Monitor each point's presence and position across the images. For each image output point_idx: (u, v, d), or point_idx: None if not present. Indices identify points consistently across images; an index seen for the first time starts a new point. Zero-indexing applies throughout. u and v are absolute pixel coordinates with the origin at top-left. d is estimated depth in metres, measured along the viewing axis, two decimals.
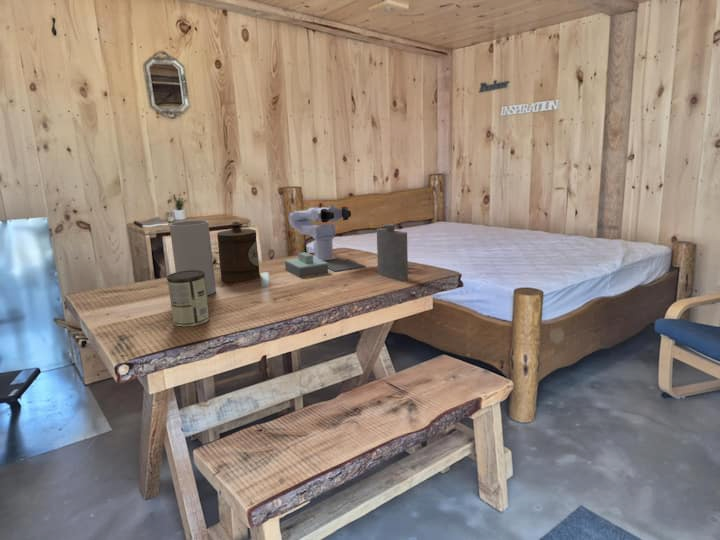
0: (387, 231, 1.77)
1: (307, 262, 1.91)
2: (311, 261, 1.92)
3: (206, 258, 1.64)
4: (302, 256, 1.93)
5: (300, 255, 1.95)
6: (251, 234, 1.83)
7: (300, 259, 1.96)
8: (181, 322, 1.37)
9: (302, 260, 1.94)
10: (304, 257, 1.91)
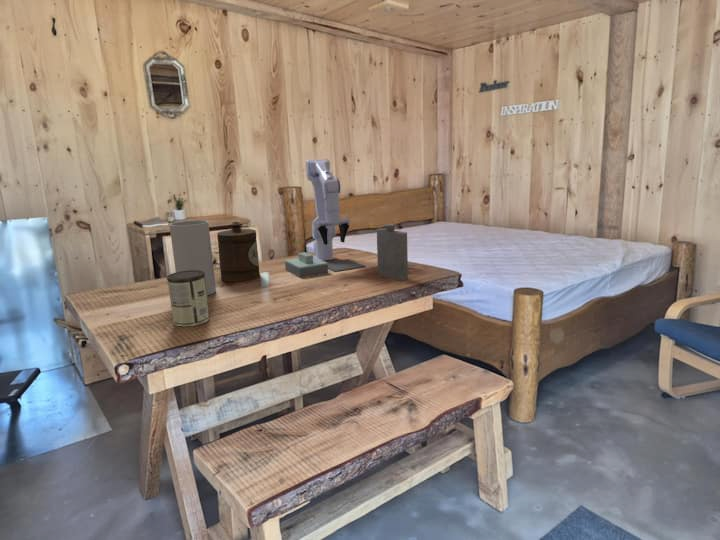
0: (387, 231, 1.77)
1: (307, 262, 1.91)
2: (311, 261, 1.92)
3: (206, 258, 1.64)
4: (302, 256, 1.93)
5: (300, 255, 1.95)
6: (251, 234, 1.83)
7: (300, 259, 1.96)
8: (181, 322, 1.37)
9: (302, 260, 1.94)
10: (304, 257, 1.91)
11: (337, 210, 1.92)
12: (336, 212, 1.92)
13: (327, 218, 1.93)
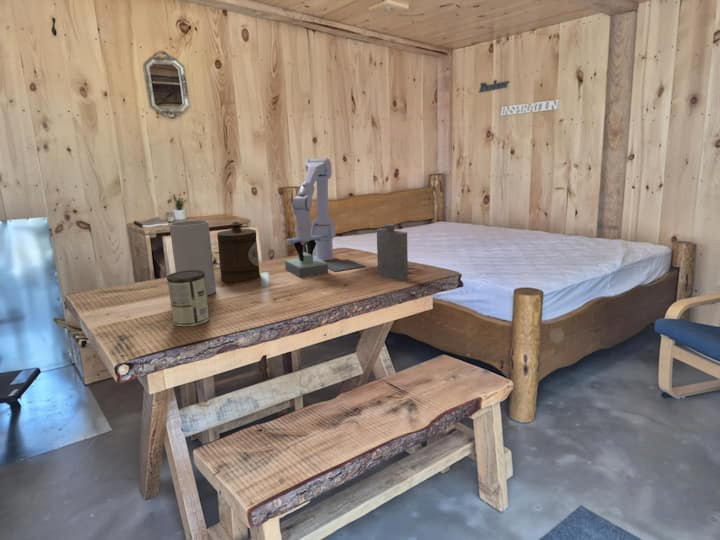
0: (387, 231, 1.77)
1: (307, 262, 1.91)
2: (311, 261, 1.92)
3: (206, 258, 1.64)
4: None
5: None
6: (251, 234, 1.83)
7: None
8: (181, 322, 1.37)
9: None
10: (304, 257, 1.91)
11: (308, 227, 1.90)
12: (307, 229, 1.89)
13: (298, 235, 1.90)
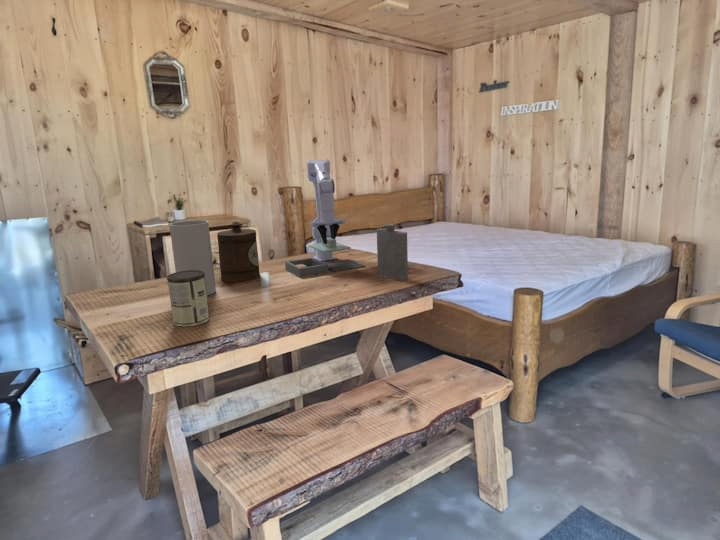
0: (387, 231, 1.77)
1: (330, 246, 1.95)
2: (334, 245, 1.95)
3: (206, 258, 1.64)
4: None
5: None
6: (251, 234, 1.83)
7: (323, 244, 1.99)
8: (181, 322, 1.37)
9: (325, 244, 1.98)
10: (327, 241, 1.95)
11: (332, 210, 1.93)
12: (331, 212, 1.93)
13: (322, 218, 1.94)
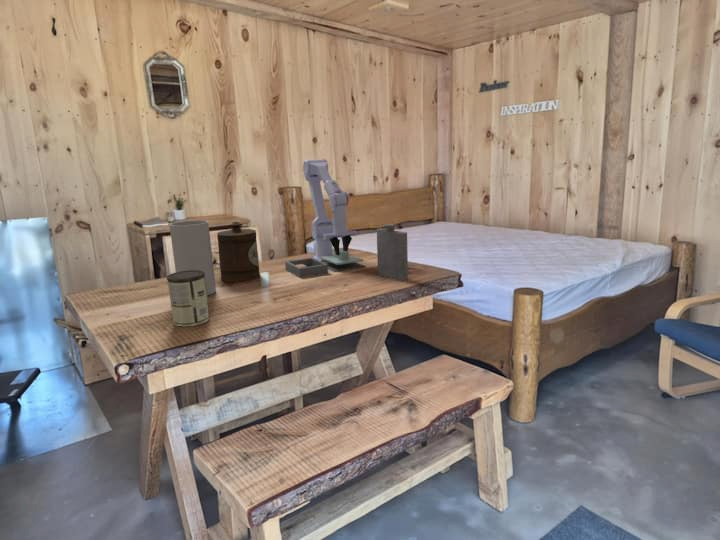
0: (387, 231, 1.77)
1: (343, 258, 1.98)
2: (347, 258, 1.99)
3: (206, 258, 1.64)
4: None
5: None
6: (251, 234, 1.83)
7: (336, 256, 2.03)
8: (181, 322, 1.37)
9: (338, 257, 2.01)
10: (340, 254, 1.99)
11: (344, 222, 1.97)
12: (343, 224, 1.97)
13: (335, 230, 1.98)
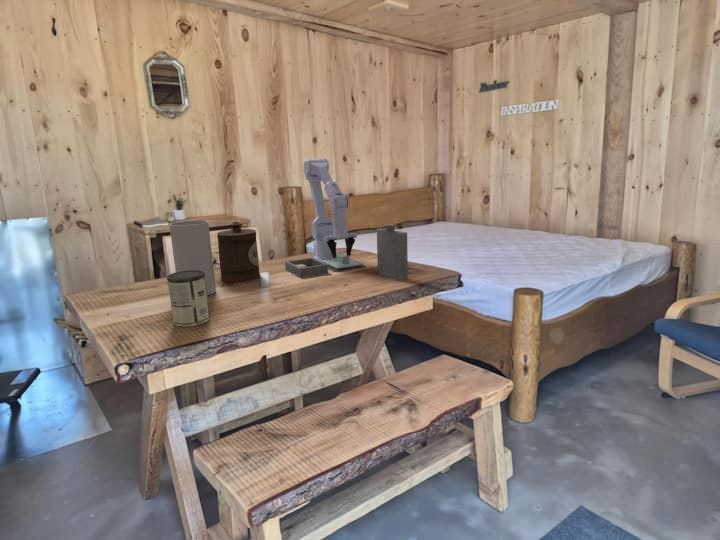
0: (387, 231, 1.77)
1: (343, 262, 1.99)
2: (347, 261, 2.00)
3: (206, 258, 1.64)
4: (338, 257, 2.01)
5: (336, 256, 2.03)
6: (251, 234, 1.83)
7: (336, 260, 2.04)
8: (181, 322, 1.37)
9: (338, 260, 2.02)
10: (340, 258, 1.99)
11: (344, 225, 1.97)
12: (344, 227, 1.97)
13: (335, 232, 1.98)
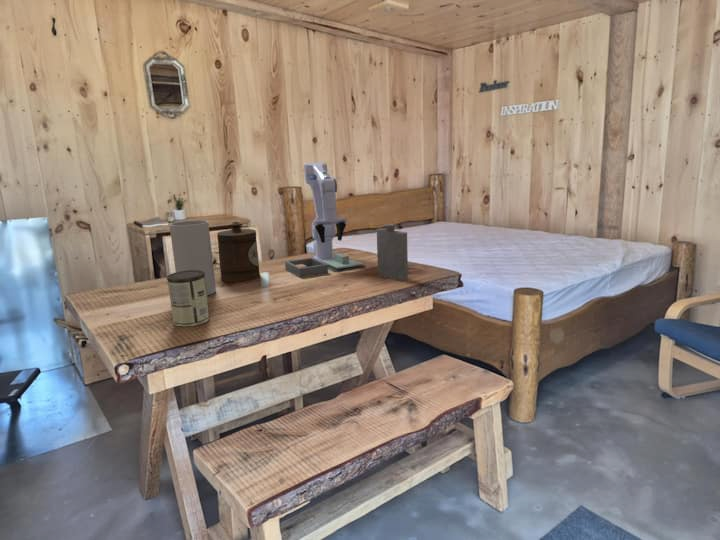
0: (387, 231, 1.77)
1: (343, 262, 1.99)
2: (347, 261, 2.00)
3: (206, 258, 1.64)
4: (338, 257, 2.01)
5: (336, 256, 2.03)
6: (251, 234, 1.83)
7: (336, 260, 2.04)
8: (181, 322, 1.37)
9: (338, 260, 2.02)
10: (340, 258, 1.99)
11: (334, 209, 1.97)
12: (333, 211, 1.96)
13: (324, 217, 1.97)
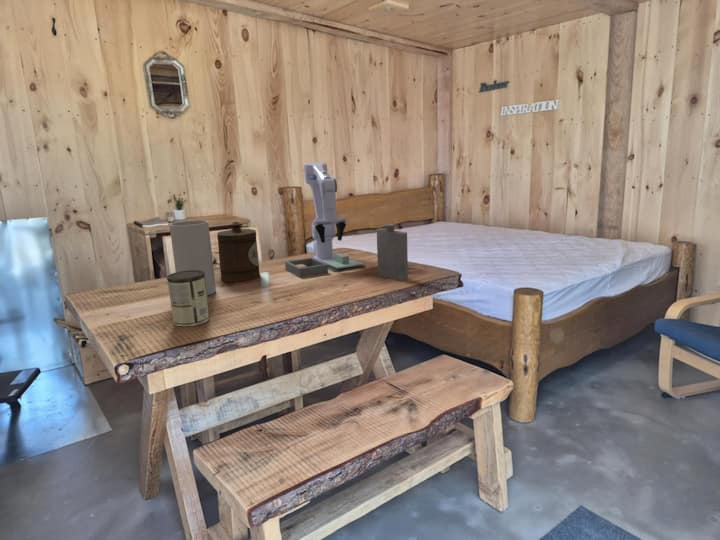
0: (387, 231, 1.77)
1: (343, 262, 1.99)
2: (347, 261, 2.00)
3: (206, 258, 1.64)
4: (338, 257, 2.01)
5: (336, 256, 2.03)
6: (251, 234, 1.83)
7: (336, 260, 2.04)
8: (181, 322, 1.37)
9: (338, 260, 2.02)
10: (340, 258, 1.99)
11: (334, 209, 1.97)
12: (333, 211, 1.96)
13: (324, 217, 1.97)
